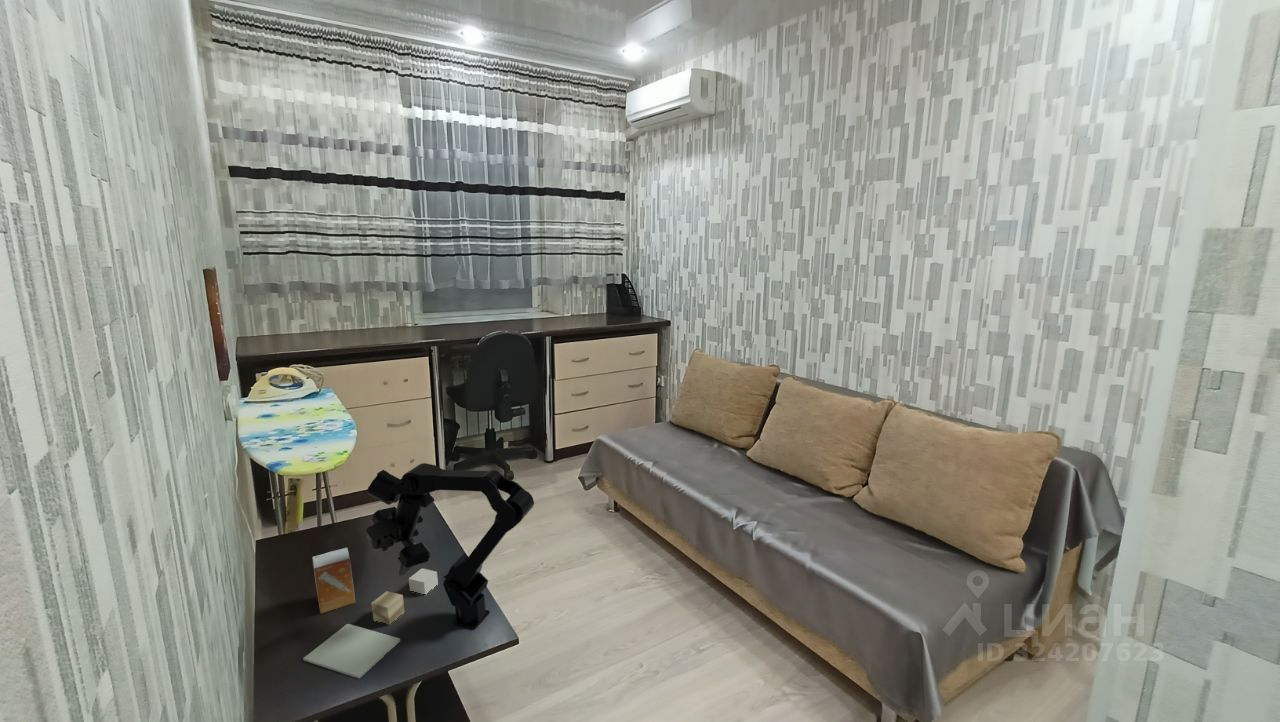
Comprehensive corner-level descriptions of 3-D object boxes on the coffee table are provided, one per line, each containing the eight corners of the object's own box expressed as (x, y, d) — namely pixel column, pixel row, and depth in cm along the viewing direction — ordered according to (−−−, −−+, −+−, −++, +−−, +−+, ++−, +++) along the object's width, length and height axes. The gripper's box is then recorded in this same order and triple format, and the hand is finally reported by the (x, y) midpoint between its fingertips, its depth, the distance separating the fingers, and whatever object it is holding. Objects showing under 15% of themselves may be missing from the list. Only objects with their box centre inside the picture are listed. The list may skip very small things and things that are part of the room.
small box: (320, 614, 139) (313, 568, 136) (318, 601, 144) (311, 556, 141) (356, 603, 143) (350, 557, 140) (353, 590, 148) (347, 546, 145)
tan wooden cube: (404, 612, 139) (402, 595, 138) (389, 625, 135) (387, 607, 134) (388, 608, 141) (386, 591, 140) (373, 621, 136) (371, 603, 135)
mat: (400, 640, 129) (400, 638, 129) (359, 678, 118) (358, 676, 118) (347, 625, 135) (347, 623, 134) (303, 660, 123) (303, 658, 123)
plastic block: (438, 584, 150) (436, 571, 150) (425, 595, 146) (423, 582, 145) (423, 581, 152) (421, 568, 151) (410, 592, 147) (408, 578, 147)
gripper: (358, 495, 132) (343, 546, 137) (394, 545, 122) (377, 599, 127) (402, 487, 141) (387, 535, 146) (439, 533, 131) (422, 584, 136)
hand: (392, 562), depth 138 cm, fingers open, 9 cm apart
